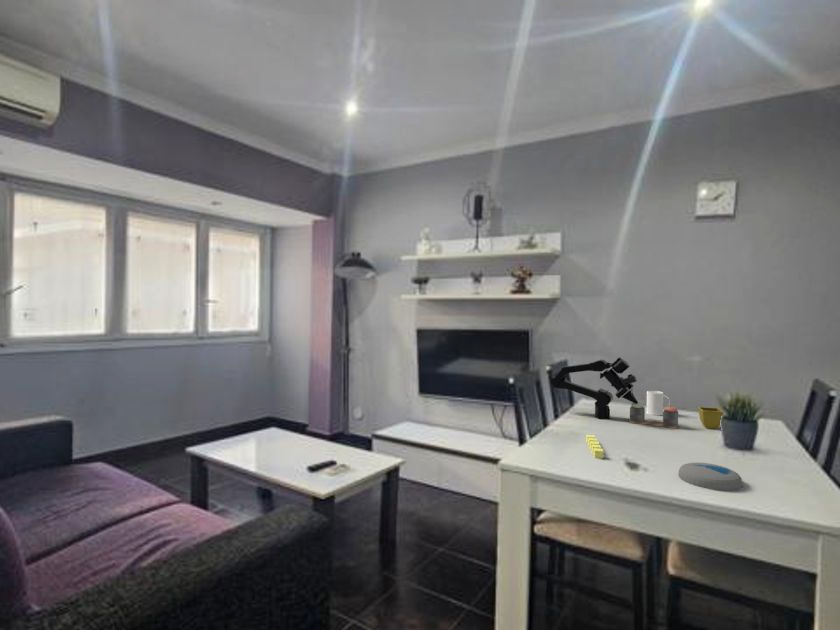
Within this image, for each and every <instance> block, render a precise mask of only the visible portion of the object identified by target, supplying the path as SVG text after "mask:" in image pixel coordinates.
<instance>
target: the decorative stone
mask: <svg viewBox="0 0 840 630" xmlns="http://www.w3.org/2000/svg"><path fill="white" fill-rule="evenodd" d="M678 477H679V479H680V480H681V481H683V482H685V483H686V484H689V485H691V486H695V487H698V488H702V489H708V490H713V491H721V492H732V491H739V490H741V489H742V488H743V479H742V477H741V475H740V474H739V473H738V472H736V471H734V470H732V469H731V468H728V467H726V466H722V465H719V464H715V463H714V464H713V463H709V462H708V463H707V462H688V463H684V464H682V465H681V466H680V467H679V469H678Z"/></svg>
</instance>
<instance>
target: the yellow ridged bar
mask: <svg viewBox="0 0 840 630" xmlns="http://www.w3.org/2000/svg"><path fill="white" fill-rule="evenodd" d="M585 438H586V439H585V441H586V444H587V446H588V448H589V451H591V454H592V456H593V455H594V456H593V458H594V457H595V458H594V459H601V458H605V457H604V449H603V448H602V446H601V445H600V443H599V441H598V440H597V438H596V436H595V435H591V434H586V436H585Z"/></svg>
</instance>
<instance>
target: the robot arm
mask: <svg viewBox="0 0 840 630" xmlns="http://www.w3.org/2000/svg"><path fill="white" fill-rule="evenodd" d="M629 368H630V364H629V363H628V361H626V360H624V359H623V358H622V357H621V356H620V357H617V359H616V360H615V361H614V362H613V363H612V362H608V361H606V360H605V359H598V360H595V361H591V362H588V363H582V364H574V365H573V364H572V365H565V366H563V367H562V368H561V369H560V370H559V372H558V373H557V374H556V376H554V377H553V378H551V380H550V384H551V386H552V388H554V389H561V390H568V391H571V392H573V393H578V394H581V395H584V396H586V397H589V398H592V399H594V400H595V402H594V415H593V417H595V418H597V419H599V420H603V419H604V420H607V419H611V417H610V416H611V412H610V411H611V409H610V406H609V404H611V402H613V400H614V396H613V394H612V393H611V392H610V391H609V390H606V389H604V388H599V389H598V390H595V389H592V388H589V387H587V386H583V385H580V384H576V383H574V382H570V381H569V379H567V377H568V375H569V374H572V373H579V372H580V373H581V372H587V371H588V372H590V371H591V372H598V373H599V372H600V373H599V379H603V378H604V379H606V381H608V383H609V384H610V386H611V387H613V388H614V389H615V390H616V393H615V396H616V397H617V399H620V398H622V399H625V400H627V401H629V402H631V403H635V404H637V403H639V401H638V400H637V398H636V396H635V395H634V393H633V392H634V390H633V389H634V388H633V387H634V386H635V385H634V383H636V382H637V378H636V375H634V374H632V373H630V374H628V375H627V377H625V378H624V377H622V376H620V375H621V374H623V373H624V372H625V371H627V370H628V369H629ZM618 374H620V375H618Z"/></svg>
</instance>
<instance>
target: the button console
mask: <svg viewBox="0 0 840 630" xmlns="http://www.w3.org/2000/svg"><path fill="white" fill-rule="evenodd" d="M645 409H646V408H645V406H644V408H634V407H631V406H630V407H629V421H628V424H632V425H641V426H647V427H648V426H649V427H657V428H663V429H671V430H678V428H679V427H678V426H679V410H677V412H668V411H665V410H663V415H662V421H660V420H659V421H658V420H651V419H646V417H645V414H646V410H645Z"/></svg>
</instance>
